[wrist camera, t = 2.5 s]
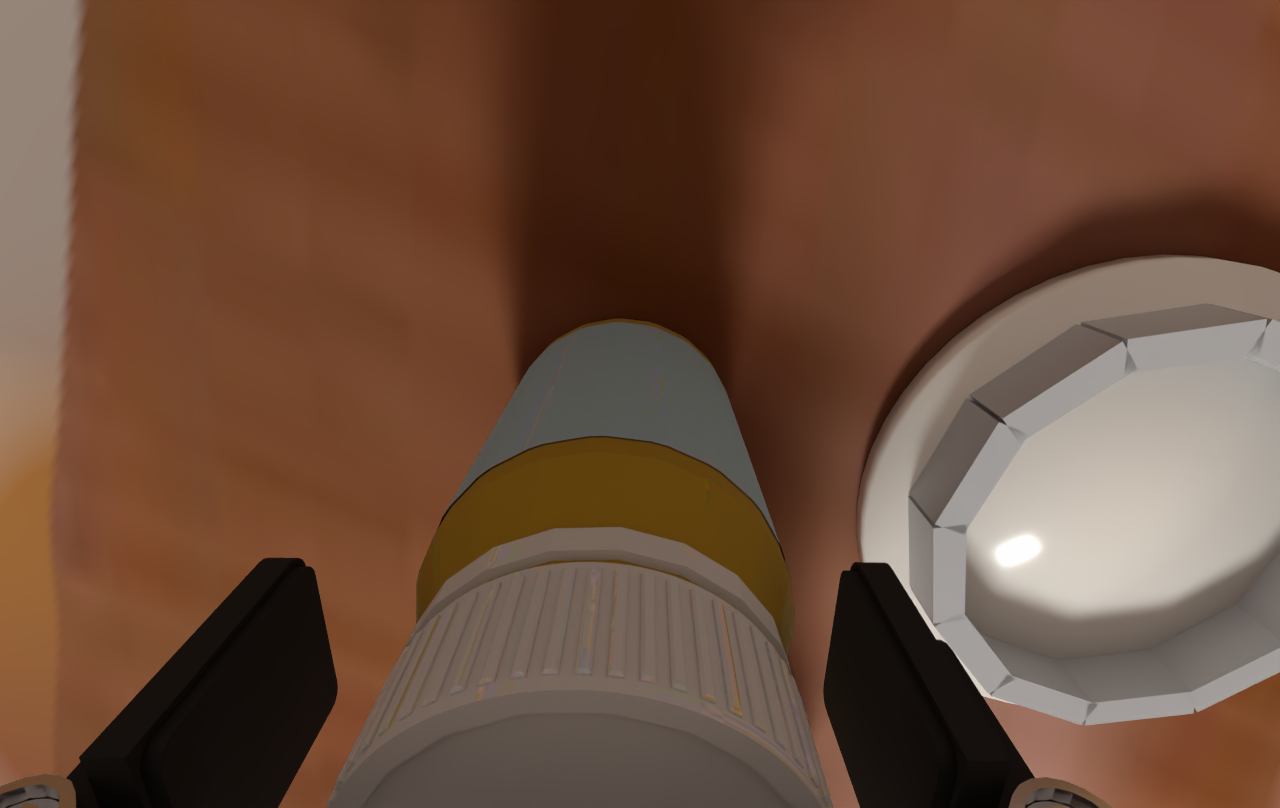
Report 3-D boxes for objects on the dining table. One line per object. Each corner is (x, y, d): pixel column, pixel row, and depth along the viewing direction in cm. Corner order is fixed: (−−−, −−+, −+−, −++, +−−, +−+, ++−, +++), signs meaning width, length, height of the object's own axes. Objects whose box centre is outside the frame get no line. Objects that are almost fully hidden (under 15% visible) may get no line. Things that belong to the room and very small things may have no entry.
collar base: (1427, 531, 23) (1536, 583, 20) (997, 752, 27) (1038, 821, 24) (1248, 130, 18) (1359, 125, 15) (761, 467, 22) (778, 512, 19)
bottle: (586, 536, 23) (494, 1109, 9) (479, 376, 21) (144, 801, 7) (761, 454, 22) (965, 970, 8) (666, 273, 20) (717, 542, 6)
